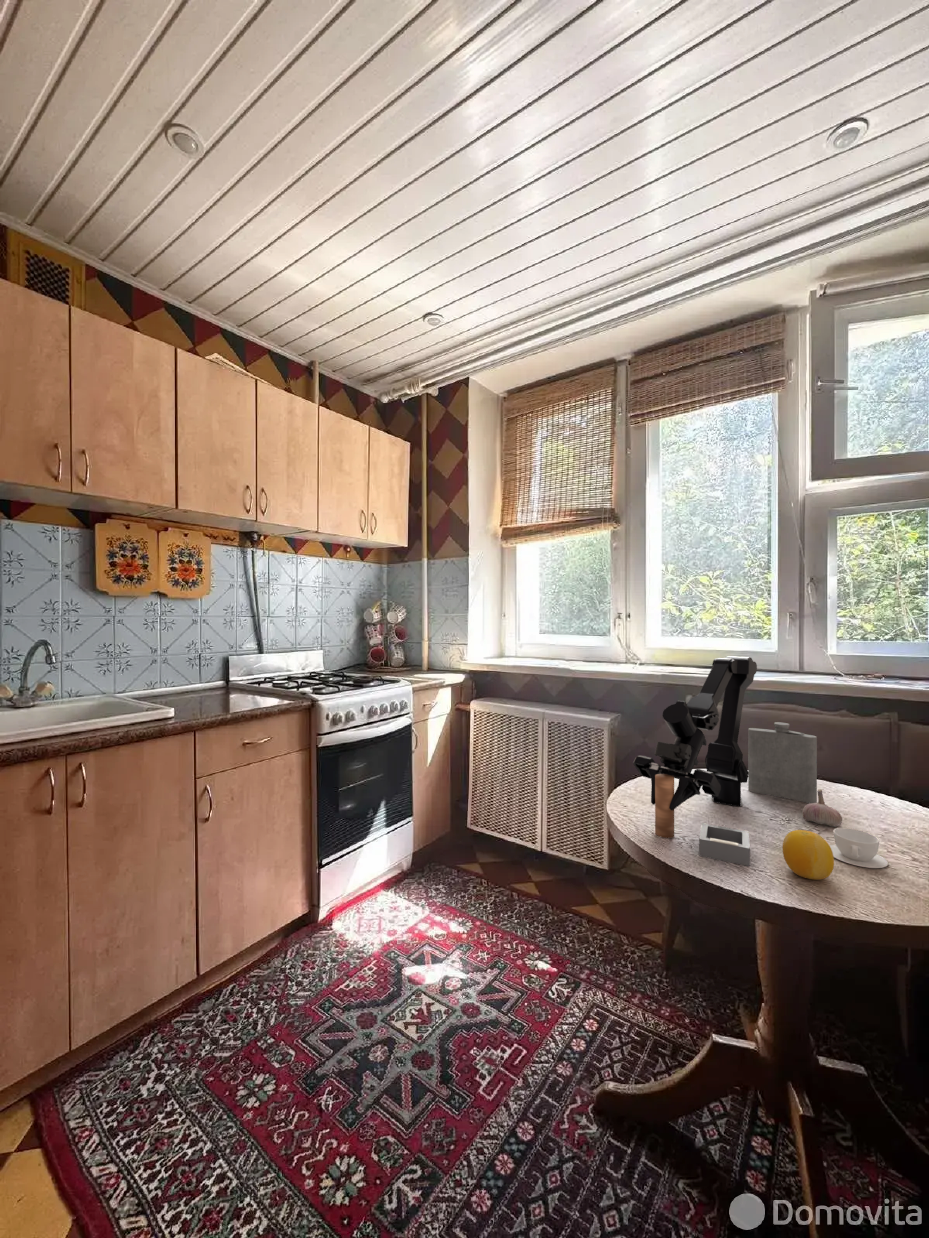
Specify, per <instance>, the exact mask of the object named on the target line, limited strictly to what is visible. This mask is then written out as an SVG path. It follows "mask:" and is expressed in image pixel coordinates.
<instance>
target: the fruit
mask: <svg viewBox="0 0 929 1238" xmlns="http://www.w3.org/2000/svg"><path fill="white" fill-rule="evenodd" d="M781 849H782V855H783V858H784V861H785V863H786V864H787V866H788V868H789V869H790V870H791V871H792V872H793V873H794V874H796V875H798V876H799V877H801V878H805V879H809V880H816V881H817V880H824V879H826V878H828V877H829V876H831V875H832V872H833V871H834V867H835V858H834V856H833V852H832V850H831V847H830V845H829V843H828V842H827V841H826V839H825V838H824V837H823V836H821V835H820V834H818V833H816V832H814V831H809V830H804V829H795V830H792V831H789V832H788V833H787V834H786V835H785V836H784V838H783V841H782V848H781Z"/></svg>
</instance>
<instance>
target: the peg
mask: <svg viewBox="0 0 929 1238" xmlns="http://www.w3.org/2000/svg"><path fill="white" fill-rule="evenodd" d="M674 794H675V778H674V777H673V776H671V775H667V774H656V775H655V805H654V811H655V812H654V823H655V824H654V825H655V826H654V827H655V829H654V833H655V836H657V837H660V838H664V839H673V838H675V809H674V810H673V811H672V810H670V808H669V807H670V803H671V800H672V798H673V796H674Z"/></svg>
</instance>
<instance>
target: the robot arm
mask: <svg viewBox="0 0 929 1238" xmlns="http://www.w3.org/2000/svg"><path fill="white" fill-rule="evenodd" d="M711 664H712V665H711V669H710V671H709V673H708V675H707V677H706V679H705V681H704V683H703V685H702V686H701V689H700V690H699V693H698V694H697V695H695V696H693V697H692V698H690V699H688V701H687V702H686V701H684V700H676V702H675V703H674V704H671V705H668V706H667V707H666V708H664V709H663V710H662V711H663V712H662V719H663V720H664V722H665V723H666V725H667V727H668V729H669V730H670V733H672V735H674V736H675V737H676V738H675V739H674V742H673V743H668V742H662V741H657V742H656V746H655V750H654V751H655V752H654V756H656V757H659V761H660V763H661V764H663V765H660V764H659V763H656V761H655V760H654V758H653V757H649V756H646V755H641V754H640V755H636V756H635V758H634V760H633V762H632V764H633V766H634V767H635V769H636V771H638V773H639V775H641V776H642V777H643V778H647V779H650V782H651V784H650V785H651V788H650V790H651V791H650V794H651V795H650V803H651V804H652V805H653V806H655V775H656V774H667V775H671V776H673V777H674V779H677V780H678V785H677V787H676V790H675V791H674V796H673V798H672V800H671V803H670V807H669V808H670V810H672V811H673V810H674V811H675V810H676V809H677V808H679V806H681V804H683V803H684V802H686V801H687V800H689V799H691V798H692V797H694V796H696V795H697V796H700V795H701V791H700V790H701V789H702V791H703V792H704V794H706V795H709V796H711V798H712V799H713V803H714V804H715V803H716V804H722V805H729V806H736V807H742V792H741V791H742V786H741V785H742V784H743V783H744V784H745V783H746V784H747V783H748V773H749V772H748V768H747V767H746V765H745V762H744V760H743V757H744V756H743V752H742V750H741V748H740V746H739V743H738V741H739V734H740V726H741V722H742V721H741V720H742V713H743V706H744V705H743V704H744V701H745V700H744V698H745V691H746V690H747V689H748V687H750V686H751V684H752V683H753V682H754V678H755V675H756V674H757V670H758V665H757V662H756V661H754V660H753V658H752V657H750V656H731V655H729V656H728V655H727V656H725V657H723V658H721V657H717V658H714V659H713V660H712V663H711ZM722 697H723V700H722V704H721V713H719V709H718V705H719V703H720V700H721V699H722ZM719 717H720V720H719ZM718 723H719V726H718V731H717V738H716V739H715V740H714V741H713V742H709V743H708V745H707V740H706V737H705V736H706V735H705V734H704V732H703V731H702V730H706V731H713V730H714V729H715V728H716V726H717V725H718ZM703 746H707V753H706V755H705V759H704V761H705V768H706V770H704V769H701V768H696V769H694V766H698V764H699V760H698V756H699V754H700V752H701V750H702V747H703ZM693 769H694V771H693ZM692 772H693V773H692Z"/></svg>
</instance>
